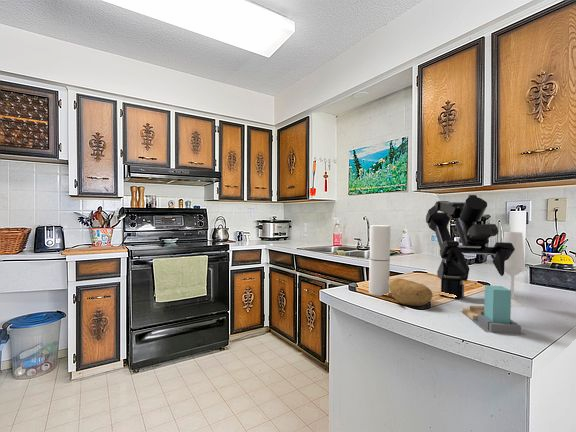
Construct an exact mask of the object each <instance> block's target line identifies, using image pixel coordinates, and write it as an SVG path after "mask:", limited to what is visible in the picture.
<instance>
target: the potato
mask: <svg viewBox="0 0 576 432" xmlns="http://www.w3.org/2000/svg"><path fill="white" fill-rule="evenodd" d="M389 292H390V293H391V296H392V297H393V299H395V300H396V301H397V302H398V303H400V304H401V305H407V306H413V307H424V306H425V305H426V304H428V303H429V302H430V301H431V300H432V299H433V296H434V295H433V292H432V290H431V289H430V288H429V287H428V286H426V285H424V284H421V283H419V282H416V281H412V280H407V279H404V278H394V279H392V280H391V281H389Z"/></svg>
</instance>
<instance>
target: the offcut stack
mask: <svg viewBox="0 0 576 432" xmlns="http://www.w3.org/2000/svg"><path fill="white" fill-rule="evenodd" d="M461 308H462V310H461V311H463V312H464V313H465V314H466V315H468V316H469V317H470V318H471V319H473V320H478V314H482V315H483V316H484V305H469V307H464V306H463V307H461ZM466 315H465V316H466Z"/></svg>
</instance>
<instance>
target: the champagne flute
mask: <svg viewBox="0 0 576 432" xmlns="http://www.w3.org/2000/svg"><path fill="white" fill-rule="evenodd" d="M523 236H524V235H523V232H520V231H504V234H503V241H502V242H507V243H512V244H513V246H514V248H515V250H514V252H513V253H512V254H511V256H510V257H509V259H508V260H506V261H505V263H504V273H506V274H507V275H509V290H511V307H519V308H520V307H525V306H524V305H523V304H522V303H520V302H519V301H517V300H516V299H515V298H514V297H515V277H516V276H518V275H519V274H520V273H522V272H523V271H524V269H525V268H526V259H525V248H524V238H523Z"/></svg>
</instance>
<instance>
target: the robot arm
mask: <svg viewBox="0 0 576 432" xmlns="http://www.w3.org/2000/svg"><path fill="white" fill-rule="evenodd" d="M487 207H488V202H487V201H486V200H484V199H483V198H481V197H478V196H477V194H469V195H468V197H467V198H466V199H465V202H464V201H463V202H459V201H458V202H456V201H455V202H454V201H453V202H451V201H449V200H437V201H436V202H435V204H434V205H433V206H432V207H431V208H429V209H428V211H427V213H426V215H425V222H426V223H427V227H429V229H430V230H432V231H433V232H434V233H435V236H436V238H437V242H438V246H439V255H440V258H441V262H440V264H439V266H438V269H437V270H436V271H437V272H436V273H437V274H436V275H437V278H438V279H440V280H441V281H440V293H441V292H445V293H449V294H454V295H456V296H457V297H455V300H460V299H461V298H463V297H464V296H465V284H464V281H465V282H467V281H468V279H469V274H470V266H469V264H468V262H467V260H466V258H465V255H464V254H471V255H490V257H491V259H492V263H493V265H494V266H495V269H496V270H497V272H498V274H499V275H500V276H501V277H503V276H504V275H505V271H504V263H505V261H506V260H508V259H509V257H510V256H511V254H512V253H513V252H514V250H515V248H514V246H513V244H512V243H507V242H503V241H496V242H495V244H494V246H493V247H492V246H486V245H487V244H488V243H489V242H490V241H489V238H491V237H495V236H497V235H498V234H499V228H498V226H497V225H496V223H488V224H477V222H480V221H481V220H482V218H483V216H484V214H485V211H486V209H487ZM451 220H455V222H454V231H456V232H457V233H458V237H459V239H458V240H453V239H452V236H451V234H450V231H449V228H448V226H449V224H450V221H451ZM460 244H461V245H460Z"/></svg>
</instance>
